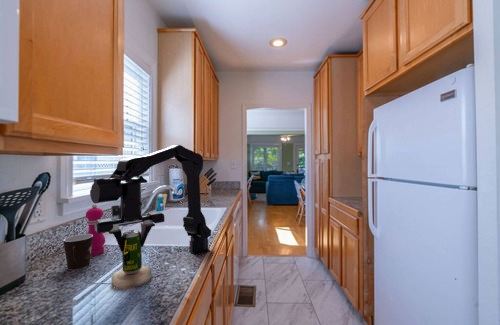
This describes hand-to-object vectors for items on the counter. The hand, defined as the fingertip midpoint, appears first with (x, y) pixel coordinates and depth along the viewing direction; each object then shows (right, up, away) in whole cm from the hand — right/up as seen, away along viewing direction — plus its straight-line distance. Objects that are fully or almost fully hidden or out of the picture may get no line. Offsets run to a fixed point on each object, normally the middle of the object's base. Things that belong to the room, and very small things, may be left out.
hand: (132, 248), depth 74 cm
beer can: (0, -7, 0) cm, 7 cm away
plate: (0, -10, 0) cm, 10 cm away
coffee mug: (-24, -10, +10) cm, 28 cm away
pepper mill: (-27, -10, +23) cm, 37 cm away
